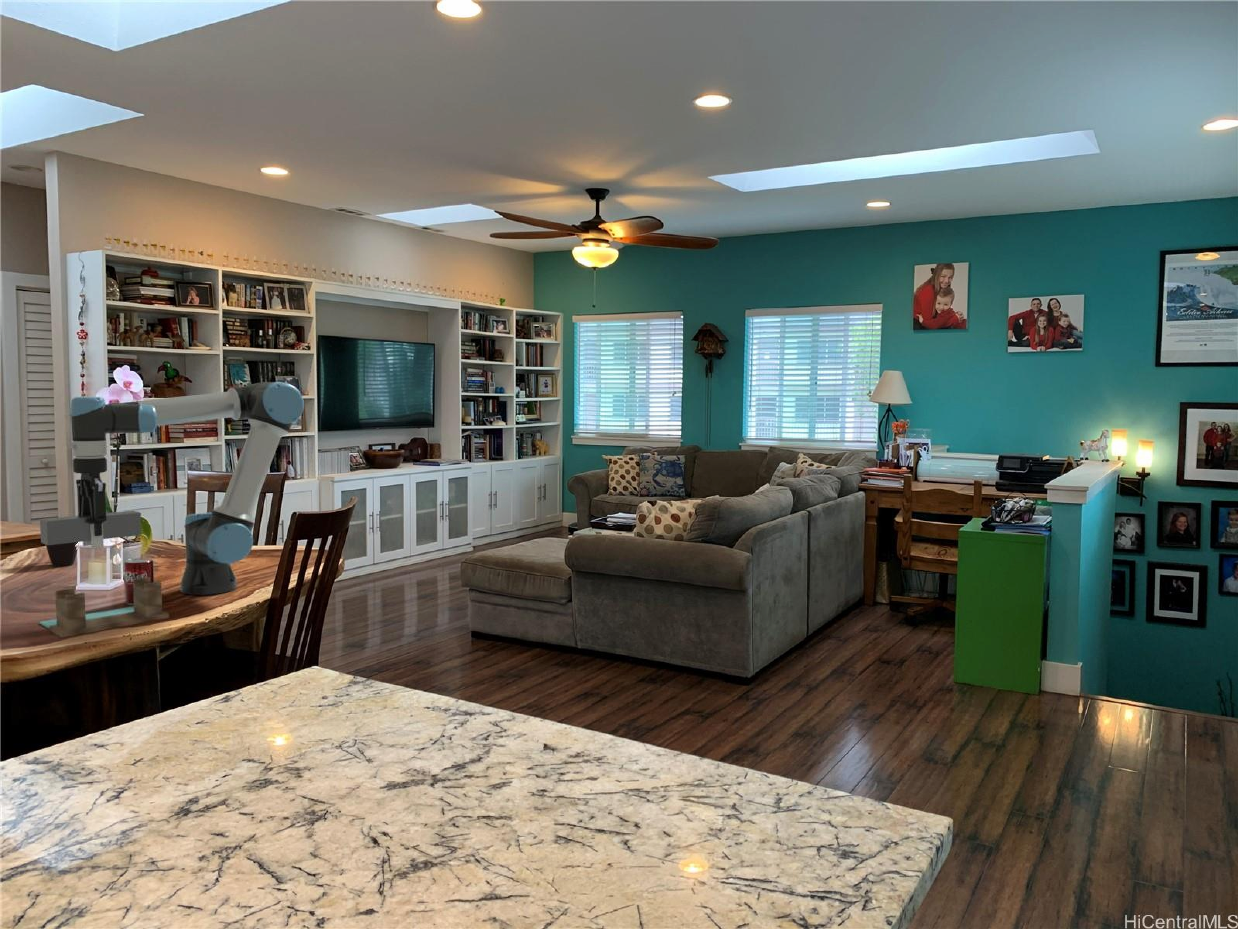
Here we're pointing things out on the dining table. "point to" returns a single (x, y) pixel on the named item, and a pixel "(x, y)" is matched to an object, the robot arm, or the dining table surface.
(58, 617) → the stand
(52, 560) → the cup
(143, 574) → the soda can
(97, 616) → the mat
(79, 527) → the rail
